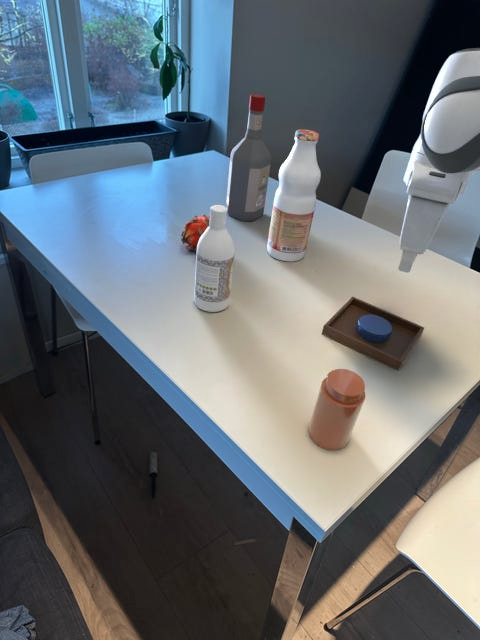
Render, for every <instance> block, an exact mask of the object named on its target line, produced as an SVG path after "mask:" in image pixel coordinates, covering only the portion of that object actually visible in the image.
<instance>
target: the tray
mask: <svg viewBox="0 0 480 640" xmlns="http://www.w3.org/2000/svg"><path fill="white" fill-rule="evenodd" d="M364 315H376V316H380V317H382V318H384V319H386V320H387V321H388V322H389V323H390V324H391V326H392V331H391V335H390V337H389V339H388V340H387V341H385V342H381V343H376V342H371V341H368V340H366V339H364V338H363V337H361V336H360V335H359V334H358V332H357V323H358V321H359V319H360V318H361V317H362V316H364ZM424 330H425V327H424V326H422V325H420V324H418V323H415V322H413V321H411V320H408V319H406V318H404V317H401V316H399V315H396V314H395V313H392V312H390V311H388V310H385V309H383V308H381V307H378V306H375V305H373V304H371V303H369V302H367V301H364V300H362V299H360V298H357V297H355V296H352V297H351V296H350V299H348V301H346V302H345V304H343V305H342V306H341V307H340V309H339V310H338V311H336V313H335V314H334V315H332V317H331V318H329V320H328V321H326V323H325V324H323V327H322V331H321V335H323V336H325V337H327V338H329V339H331V340H333V341H334V342H337V343H340V344H341V345H343V346H346V347H348V348H350V349H352V350H354V351H356V352H358V353H359V354H362V355H364V356H367V357H368V358H370V359H372V360H374V361H377V362H379V363H381V364H382V365H385V366H387V367H389V368H390V369H393V370H395V371H397V372H400V369H402V367H403V365H404V363H405V362H406V360H407V359H408V357H409V356H410V354H411V353H412V351H413V349H414V348H415V346H416V345H417V343H418V341H419V340H420V339H421V337H422V335H423V332H424Z"/></svg>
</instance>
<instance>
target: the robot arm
mask: <svg viewBox="0 0 480 640" xmlns="http://www.w3.org/2000/svg"><path fill="white" fill-rule="evenodd" d="M474 171H477V172H478V171H479V172H480V47H475V48H474V47H472V48H465V49H461V50H458V51H456V52H454V53H452V54H451V55H449V56H448V58H446V60H445V61H444V63H443V64H442V66H441V68H440V70H439V71H438V74H437V76H436V78H435V81H434V83H433V85H432V88H431V91H430V94H429V97H428V100H427V102H426V105H425V109H424V111H423V115H422V122H421V129H420V134H419V136H418V138H417V140H416V141H415V143H414V145H413V147H412V150H411V154H410V157H409V160H408V163H407V166H406V169H405V172H404V175H403V178H402V180H403V182H404V183H405V186H406V192H405V193H406V195H408V196H407V204H406V207H405V208H406V209H405V213H404V218H403V221H402V227H401V232H400V237H399V242H398V247H399V250H401V251H402V254H401V258H400V261H399V264H398V267H397V268H398V271H399V272H403V273H406V274H407V273H408V274H409V273H410V272H411V269H412V266H413V264H414V262H415V260H416V258H417V256H418V255H420V256H421V255H424V254H425V253H426V251H427V250H428V248H429V246H430V244H431V242H432V240H433V238H434V236H435V234H436V232H437V230H438V228H439V226H440V224H441V222H442V220H443V218H444V216H445V214H446V212H447V210H448V208H449V205H454V203H455V201H456V200H457V198H458V197H459V196H461V195H463V194H464V193H465V190H466V187H467V185H468V184H469V183H468V182H469V180H470V178H471V175H472V172H474Z"/></svg>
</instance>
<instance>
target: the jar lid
mask: <svg viewBox="0 0 480 640" xmlns="http://www.w3.org/2000/svg"><path fill="white" fill-rule="evenodd" d="M391 331H392V326H391V324H390V323H389V322H388V321H387V320H386V319H384V318H382V317H380V316H376V315H364V316H362V317H361V318H360V319H359V321H358V323H357V332H358V334H359V335H360V336H361V337H363V338H364V339H366V340H368V341H371V342H376V343H381V342H385V341H387V340H388V339H389V337H390V335H391Z"/></svg>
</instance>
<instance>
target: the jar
mask: <svg viewBox="0 0 480 640" xmlns="http://www.w3.org/2000/svg"><path fill="white" fill-rule="evenodd" d="M326 375H327V376H326V377H325V378H324V379H323V380H322V382H321V384H320V388H319V390H318V395H317V397H316V401H315V405H314V407H313V411H312V414H311V417H310V421H309V424H308V429H307V430H308V434H309V437H310V438H311V440H312V441H313V443H315V444H316V445H317V446H319V447H321V448H323V449H325V450H330V451H336V450H341V449H343V448H345V447H346V446H347V444H348V443H349V441H350V437H351V436H352V433H353V431H354V428H355V425H356V423H357V421H358V418H359V415H360V413H361V410H362V407H363V405H364V403H365V400H366V391H365V390H366V383H365V382H364V379H363V378H362V377H361V376H360V375H359V374H358V373H356V372H355V371H353V370H350V369H347V368H336V369H333V370H330V371H329V372H328V373H327V374H326Z"/></svg>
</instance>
